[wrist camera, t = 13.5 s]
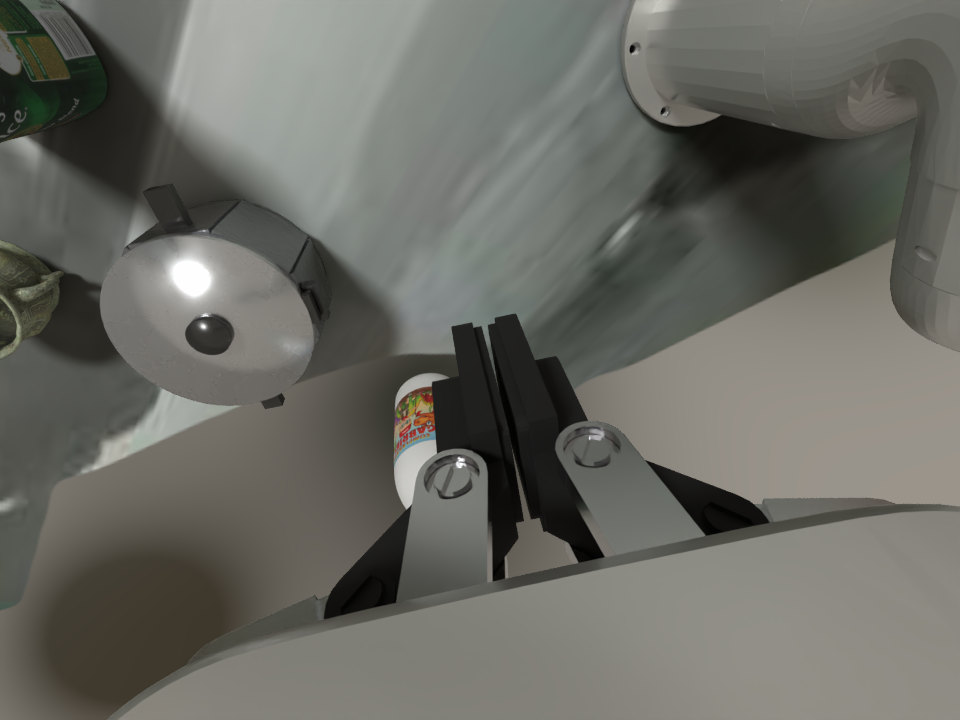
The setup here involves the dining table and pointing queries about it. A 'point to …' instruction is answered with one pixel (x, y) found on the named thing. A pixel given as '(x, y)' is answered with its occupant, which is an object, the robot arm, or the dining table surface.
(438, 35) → the dining table surface
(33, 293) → the vessel
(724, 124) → the dining table surface
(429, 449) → the milk bottle
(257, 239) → the pot
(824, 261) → the dining table surface
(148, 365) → the lid
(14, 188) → the dining table surface
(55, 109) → the coffee jar
